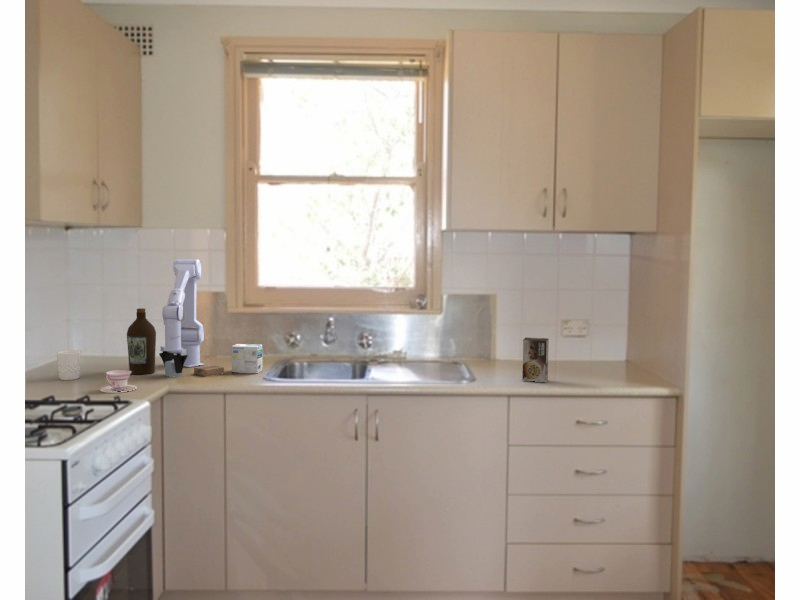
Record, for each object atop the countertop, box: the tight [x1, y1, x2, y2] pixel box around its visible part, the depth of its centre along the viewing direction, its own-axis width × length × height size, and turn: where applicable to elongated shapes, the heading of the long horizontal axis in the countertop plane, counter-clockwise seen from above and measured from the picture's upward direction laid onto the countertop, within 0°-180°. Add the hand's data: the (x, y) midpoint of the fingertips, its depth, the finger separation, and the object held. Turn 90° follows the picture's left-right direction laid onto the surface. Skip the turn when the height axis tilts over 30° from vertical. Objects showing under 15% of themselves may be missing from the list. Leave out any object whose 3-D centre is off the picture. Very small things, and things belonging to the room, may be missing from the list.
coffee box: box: [521, 337, 549, 384], centre depth 266 cm, size 9×6×16 cm
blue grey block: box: [164, 360, 183, 378], centre depth 268 cm, size 4×4×6 cm
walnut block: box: [193, 364, 225, 377], centre depth 272 cm, size 8×8×3 cm
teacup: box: [99, 369, 138, 394], centre depth 242 cm, size 12×12×6 cm
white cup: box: [56, 349, 81, 381], centre depth 260 cm, size 8×8×10 cm
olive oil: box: [126, 307, 157, 376], centre depth 272 cm, size 11×11×25 cm
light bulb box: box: [231, 343, 263, 374], centre depth 277 cm, size 11×7×11 cm, turn 84°
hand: (173, 371), depth 268 cm, fingers open, 6 cm apart
